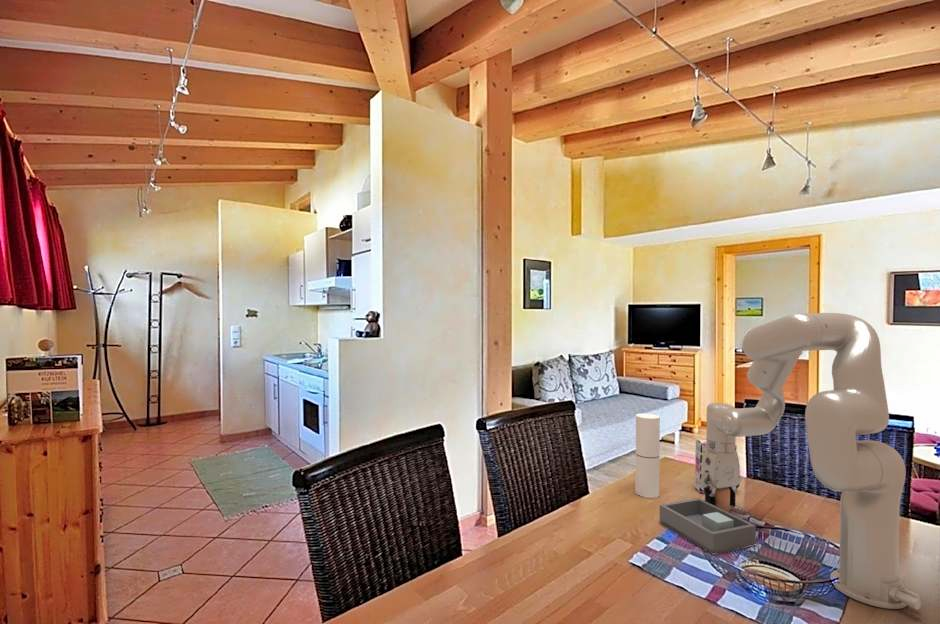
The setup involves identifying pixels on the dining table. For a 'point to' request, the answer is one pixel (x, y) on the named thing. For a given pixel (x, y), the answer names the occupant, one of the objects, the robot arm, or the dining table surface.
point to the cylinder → (723, 498)
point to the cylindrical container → (647, 455)
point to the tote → (689, 525)
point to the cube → (716, 521)
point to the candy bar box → (700, 462)
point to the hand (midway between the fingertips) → (720, 506)
